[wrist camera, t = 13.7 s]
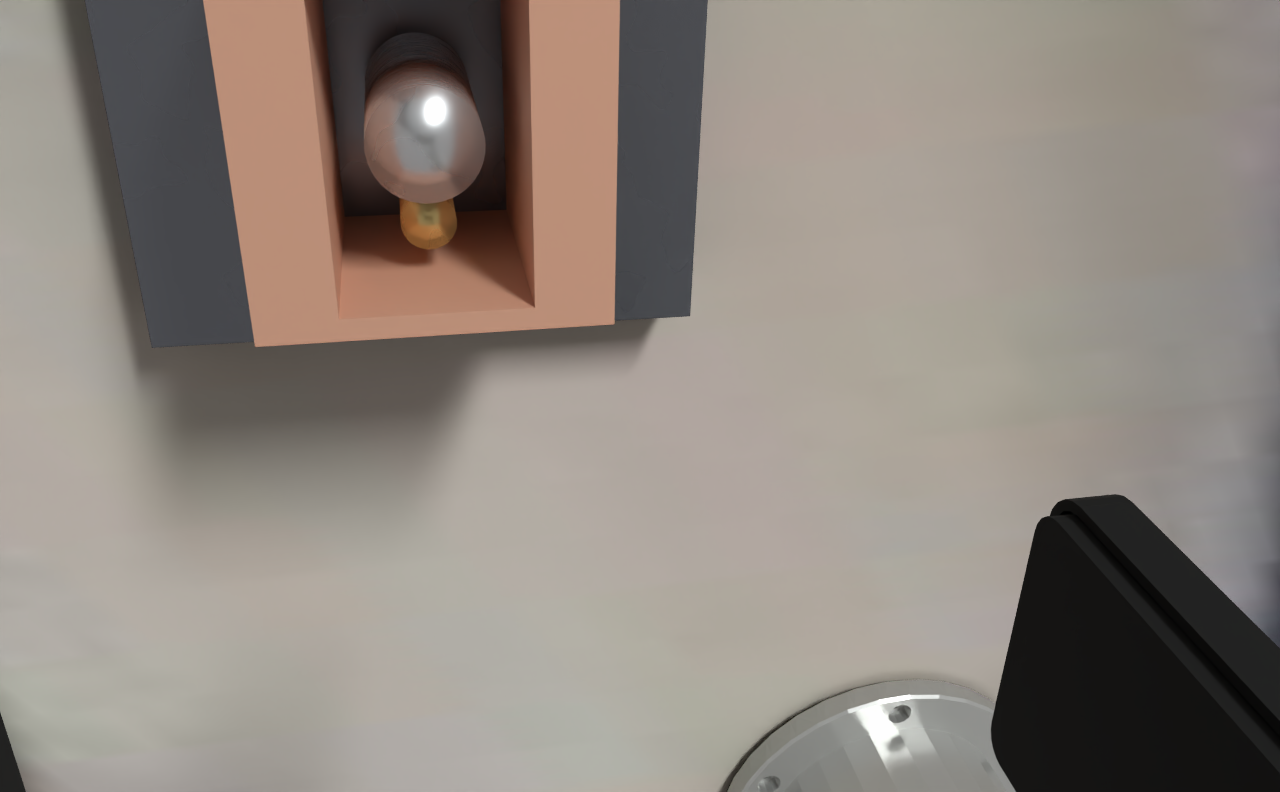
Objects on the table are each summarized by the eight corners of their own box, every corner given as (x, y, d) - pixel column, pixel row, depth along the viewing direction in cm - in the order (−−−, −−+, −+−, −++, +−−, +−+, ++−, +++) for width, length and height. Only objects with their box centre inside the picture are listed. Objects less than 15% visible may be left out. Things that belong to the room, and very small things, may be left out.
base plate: (673, 287, 34) (738, 404, 28) (163, 314, 31) (114, 450, 25) (698, -220, 27) (788, -210, 21) (61, -239, 25) (-37, -234, 19)
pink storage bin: (232, -83, 25) (197, -39, 20) (572, -82, 26) (620, -40, 21) (276, 239, 29) (255, 347, 24) (573, 225, 30) (614, 324, 25)
